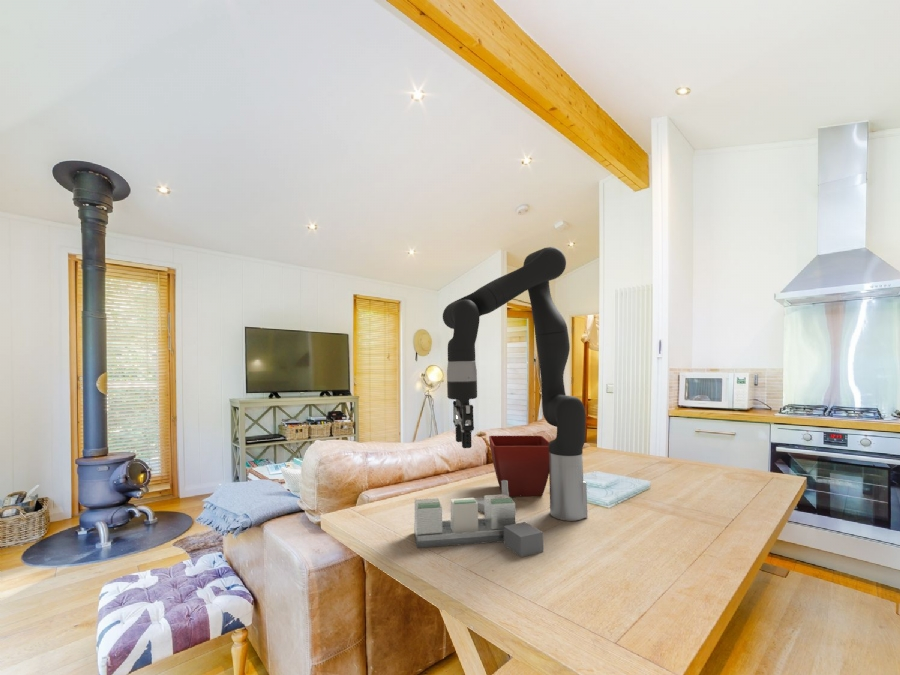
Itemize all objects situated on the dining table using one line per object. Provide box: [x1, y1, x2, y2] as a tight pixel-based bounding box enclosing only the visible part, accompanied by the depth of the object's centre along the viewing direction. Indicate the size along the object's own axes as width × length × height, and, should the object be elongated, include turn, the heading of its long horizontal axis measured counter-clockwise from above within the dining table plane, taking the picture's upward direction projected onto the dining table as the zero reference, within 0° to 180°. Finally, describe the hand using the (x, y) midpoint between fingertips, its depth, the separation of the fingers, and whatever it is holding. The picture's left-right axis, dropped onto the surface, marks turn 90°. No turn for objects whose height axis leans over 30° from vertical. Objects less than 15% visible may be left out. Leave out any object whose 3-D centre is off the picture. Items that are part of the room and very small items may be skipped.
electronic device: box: [474, 480, 516, 517], centre depth 122 cm, size 5×10×15 cm
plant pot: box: [488, 435, 550, 498], centre depth 141 cm, size 19×19×17 cm
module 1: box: [450, 497, 479, 533], centre depth 104 cm, size 6×4×7 cm
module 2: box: [503, 521, 544, 558], centre depth 97 cm, size 6×7×4 cm
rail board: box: [413, 493, 516, 549], centre depth 104 cm, size 24×9×9 cm, turn 99°
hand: (463, 444), depth 105 cm, fingers open, 8 cm apart
